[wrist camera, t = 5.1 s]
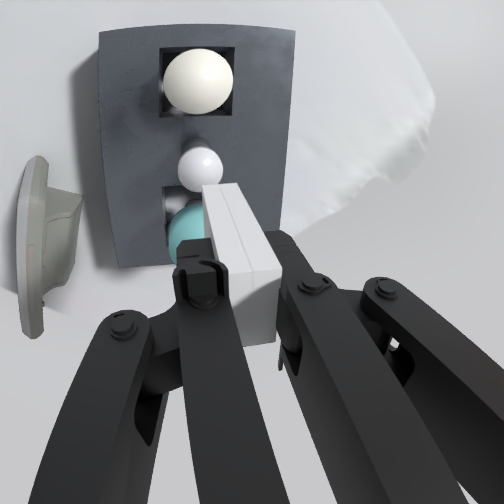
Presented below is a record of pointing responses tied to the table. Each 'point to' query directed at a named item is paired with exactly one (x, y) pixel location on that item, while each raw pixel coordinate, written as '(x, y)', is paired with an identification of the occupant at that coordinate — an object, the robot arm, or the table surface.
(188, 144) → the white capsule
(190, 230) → the knob outer
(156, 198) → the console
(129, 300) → the table surface
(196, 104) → the knob inner
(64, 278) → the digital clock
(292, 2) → the table surface
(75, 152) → the table surface
